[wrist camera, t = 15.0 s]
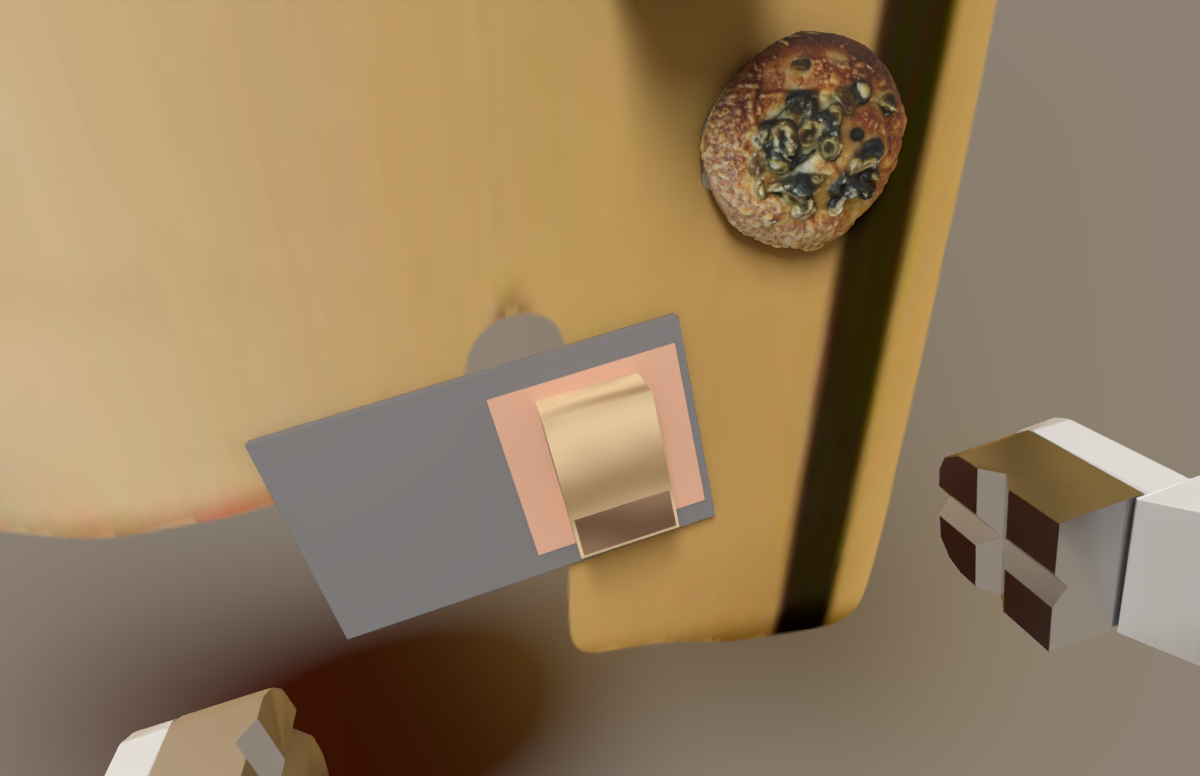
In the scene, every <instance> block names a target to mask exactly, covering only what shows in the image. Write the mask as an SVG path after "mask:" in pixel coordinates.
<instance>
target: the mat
mask: <svg viewBox="0 0 1200 776" xmlns="http://www.w3.org/2000/svg"><path fill="white" fill-rule="evenodd" d="M633 372H638V374H639V375H640V376H641V378H642V379H643V380H644V382H645V383H646V384H647V386H648V387H649V388H650V390H651V391H652V393H653V398H654V403H655V408H656V413H657V418H658V423H659V428H660V433H661V438H662V443H663V447H664V452H665V457H666V462H667V467H668V472H669V477H670V482H671V487H672V492H673V497H674V502H675V507H676V512H677V517H678V522H679V527H682V526H685V525H688V524H691V523H694V522H697V521H700V520H703V519H706V518H709V517H712V516H715V512H714V507H713V501H712V496H711V491H710V485H709V480H708V474H707V469H706V464H705V458H704V453H703V448H702V442H701V437H700V431H699V426H698V421H697V415H696V410H695V404H694V399H693V394H692V388H691V383H690V378H689V372H688V367H687V361H686V356H685V351H684V345H683V340H682V335H681V329H680V324H679V318H678V316H677V315H676V314H675V313H673V314H669V315H666V316H663V317H659V318H656V319H653V320H649V321H646V322H643V323H639V324H636V325H633V326H629V327H626V328H623V329H619V330H616V331H613V332H609V333H606V334H603V335H599V336H596V337H593V338H589V339H586V340H583V341H579V342H576V343H573V344H569V345H566V346H563V347H559V348H556V349H553V350H550V351H546V352H543V353H540V354H536V355H533V356H530V357H526V358H523V359H520V360H516V361H513V362H510V363H506V364H503V365H500V366H496V367H493V368H490V369H487V370H483V371H480V372H476V373H473V374H470V375H466V376H463V377H460V378H456V379H453V380H450V381H446V382H443V383H440V384H436V385H433V386H430V387H426V388H423V389H420V390H416V391H413V392H410V393H406V394H403V395H400V396H396V397H393V398H390V399H386V400H383V401H380V402H376V403H373V404H370V405H366V406H363V407H360V408H356V409H353V410H350V411H346V412H343V413H340V414H336V415H333V416H330V417H326V418H323V419H320V420H316V421H313V422H310V423H306V424H303V425H300V426H296V427H293V428H290V429H286V430H283V431H280V432H276V433H273V434H270V435H266V436H263V437H260V438H256V439H253V440H250V441H248V442H247V444H246V446H245V447H246V449H247V451H248V452H249V454H250V456H251V458H252V460H253V462H254V464H255V466H256V468H257V469H258V471H259V473H260V475H261V477H262V479H263V481H264V483H265V485H266V486H267V488H268V490H269V492H270V494H271V496H272V498H273V500H274V502H275V503H276V505H277V507H278V509H279V511H280V513H281V515H282V517H283V519H284V520H285V522H286V524H287V526H288V528H289V530H290V532H291V533H292V536H293V537H294V539H295V541H296V543H297V545H298V547H299V549H300V551H301V552H302V554H303V556H304V558H305V560H306V562H307V564H308V566H309V568H310V570H311V571H312V573H313V575H314V577H315V579H316V581H317V582H318V585H319V587H320V588H321V590H322V592H323V594H324V596H325V598H326V600H327V602H328V604H329V605H330V607H331V609H332V611H333V613H334V615H335V617H336V619H337V621H338V622H339V624H340V626H341V628H342V630H343V632H344V634H345V636H346V638H347V639H350V638H353V637H356V636H359V635H362V634H365V633H368V632H371V631H374V630H377V629H380V628H383V627H386V626H389V625H392V624H395V623H398V622H401V621H404V620H406V619H410V618H413V617H416V616H419V615H421V614H424V613H427V612H430V611H433V610H436V609H439V608H442V607H445V606H448V605H451V604H454V603H457V602H460V601H463V600H465V599H469V598H472V597H475V596H478V595H481V594H484V593H487V592H489V591H493V590H495V589H498V588H501V587H504V586H507V585H510V584H513V583H516V582H519V581H522V580H525V579H528V578H531V577H534V576H537V575H540V574H543V573H546V572H548V571H552V570H555V569H558V568H561V567H563V566H567V565H570V564H573V563H575V562H578V561H581V560H584V559H587V558H590V557H593V556H596V555H599V554H602V553H605V552H608V551H611V550H614V549H617V548H620V547H623V546H626V545H629V544H632V543H635V542H638V541H641V540H644V539H647V538H649V537H647V538H644V539H641V540H638V541H634V542H631V543H628V544H625V545H622V546H619V547H616V548H613V549H610V550H607V551H604V552H601V553H598V554H595V555H592V556H589V557H586V558H583V559H581V556H580V552H579V549H578V546H577V543H576V540H575V537H574V534H573V531H572V528H571V524H570V521H569V518H568V514H567V511H566V507H565V504H564V500H563V497H562V493H561V490H560V486H559V483H558V479H557V476H556V472H555V469H554V465H553V462H552V458H551V455H550V452H549V448H548V445H547V441H546V438H545V434H544V431H543V427H542V424H541V420H540V417H539V413H538V410H537V406H536V403H535V402H536V401H539V400H542V399H546V398H549V397H553V396H556V395H559V394H563V393H566V392H569V391H573V390H576V389H579V388H583V387H586V386H590V385H593V384H596V383H600V382H603V381H606V380H610V379H613V378H616V377H620V376H623V375H627V374H630V373H633ZM679 527H677V528H679ZM674 529H676V528H674ZM671 530H673V529H671ZM668 531H670V530H668ZM665 532H667V531H665ZM662 533H664V532H662ZM659 534H661V533H659ZM656 535H658V534H656ZM653 536H655V535H653ZM650 537H652V536H650Z"/></svg>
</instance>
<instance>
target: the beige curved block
mask: <svg viewBox="0 0 1200 776" xmlns="http://www.w3.org/2000/svg"><path fill="white" fill-rule="evenodd" d="M535 403H536V406H537V410H538V413H539V417H540V420H541V424H542V427H543V431H544V434H545V438H546V441H547V445H548V448H549V452H550V455H551V458H552V462H553V465H554V469H555V472H556V476H557V479H558V483H559V486H560V490H561V493H562V497H563V500H564V504H565V507H566V511H567V514H568V518H569V521H570V524H571V528H572V531H573V534H574V537H575V540H576V543H577V546H578V549H579V552H580V556H581V559H583V558H586V557H589V556H592V555H595V554H598V553H601V552H604V551H607V550H610V549H613V548H616V547H619V546H622V545H625V544H628V543H631V542H634V541H638V540H641V539H644V538H647V537H650V536H653V535H656V534H659V533H662V532H665V531H668V530H671V529H674V528H677V527H679V522H678V517H677V512H676V507H675V502H674V497H673V492H672V487H671V482H670V477H669V472H668V467H667V462H666V457H665V452H664V447H663V443H662V438H661V433H660V428H659V423H658V418H657V413H656V408H655V403H654V398H653V393H652V391H651V390H650V388H649V387H648V386H647V384H646V383H645V382H644V380H643V379H642V378H641V376H640V375H639V374H638V372H633V373H630V374H627V375H623V376H620V377H616V378H613V379H610V380H606V381H603V382H600V383H596V384H593V385H590V386H586V387H583V388H579V389H576V390H573V391H569V392H566V393H563V394H559V395H556V396H553V397H549V398H546V399H542V400H539V401H536V402H535Z"/></svg>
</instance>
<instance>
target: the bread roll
mask: <svg viewBox="0 0 1200 776" xmlns="http://www.w3.org/2000/svg"><path fill="white" fill-rule="evenodd" d="M906 122H907V118H906V115H905V111H904V106H903V105H902V104H901V99H900V95H899V93H898V90H897V88H896V85H895V82H894V81H893V78H892V76H891V74H890V72H889V70H888V69H887V67H886V66H885V65H884V64H883V63H882V62H881V61H880V60H879V59H878V57H877V56H876V55H875V54H874V53H873V52H872V51H871V50H870V49H868V48H867V47H866V46H865V45H863V44H861V43H859V42H857V41H854V40H852V39H849V38H847V37H845V36H841V35H837V34H833V33H823V32H816V31H800V32H796V33H795V34H793V35H791V36H788V37H785V38H782V39H780V40H778V41H776V42H775V43H774V44H772V45H771V46H769V47H767V48H766V49H765V50H764V51H763V52H761V53H760V54H758V55H756V56H755V57H754V58H753V59H752V60H751V61H749V62H748V63H747V65H746V66H745V67H744V68H743V69H742V70H741V71H740V72H739V73H738V74H737V75H736V76H735V77H733V79H732V81H731V82H730V83H729V84H728V86H727V87H726V88H725V89H724V91H723V92H722V93H721V95H720V97H719V98H718V100H717V101H716V102H715V105H714V106H713V107H712V109H710V113H709V114H708V118H706V123H704V127H703V129H702V134H701V139H702V140H701V144H700V145H699V150H700V152H701V160H703V161H702V165H703V168H702V172H703V173H702V180H703V182H702V183H703V186H704V187H706V189H707V190H708V189H710V190H711V194H712V196H713V197H714V198H715V200H716V202H717V204H718V205H719V207H720V209H721V210H722V211H723V213H724V215H725V216H726V218H727V220H728V221H729V223H730V224H731V225H732V226H734V227H735V228H737V229H738V230H739V231H740V232H742V233H743V235H747V236H751V237H753V238H754V239H755V240H759V241H760V242H762V243H763V244H765V245H769V244H770V245H772V246H773V247H776V248H780V247H783V248H789V247H791V248H793V249H797V248H799V249H801V250H803V251H813V250H817V249H820V248H822V247H823V246H824V245H825V244H826V243H828V242H830V241H832V240H835V239H836V238H838V237H840V236H841V235H842V234H845V233H846V232H847V231H848V229H849V228H850V227H851V226H852V225H853V224H854V223H855V220H856V219H857V218H858V217H859V216H861V215H862V214H863V213H864V212H865V211H866V210H867V209H868V208H869V207H870V206H871V205H872V204H873V202H874V201H875V200H876V199H877V197H878V196H879V195H880V194H881V193H882V191H883V187H884V185H885V184H886V183H887V181H888V178H889V176H890V174H891V172H892V171H893V170H894V169H895V167H896V164H897V162H898V160H897V157H898V154H899V151H900V148H901V144H902V136H903V134H904V130H905V127H906Z"/></svg>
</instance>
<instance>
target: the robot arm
mask: <svg viewBox="0 0 1200 776" xmlns="http://www.w3.org/2000/svg"><path fill="white" fill-rule="evenodd" d="M939 470H940V471H939V486H940V487H941V488H942V489H943V490H944V491H945V492H946V493H947V494H948V495H949V496H950V499H949V500H948V502H947V503H946V505H945V507H944V509H943V510H942V512H941V514H940V530H941V538H942V541H943V543H944V546H945V548H946V550H947V553H948V555H949V558H950V559H951V560H952V562H953V563H954V564H955V566H956V567H957V568H958V570H959V571H960V572H961V573H962V574H963V575H964V576H965V577H966V578H967V579H968V580H969V581H970V582H971V583H972V584H973V585H975V586H976V587H979V588H982V589H985V590H988V591H991V592H994V593H997V594H1000V595H1001V599H1002V606H1003V612H1004V613H1006V614H1007V615H1008V616H1009V617H1010V618H1011V619H1012V620H1013V621H1015V622H1016V623H1017V624H1018V625H1019V626H1020V627H1021V628H1022V629H1024V630H1025V631H1026V632H1027V633H1028V634H1029V635H1030V636H1031V637H1033V638H1034V639H1035V640H1036V641H1037V642H1038V643H1039V644H1040V645H1042V646H1043V647H1044V648H1045V649H1046V650H1047V651H1048V652H1050V651H1053V650H1056V649H1059V648H1062V647H1065V646H1067V645H1070V644H1073V643H1076V642H1079V641H1081V640H1085V639H1088V638H1090V637H1093V636H1096V635H1099V634H1102V633H1104V632H1107V631H1110V630H1113V629H1116V628H1118V631H1117V632H1118V633H1120V634H1123V635H1125V636H1128V637H1130V638H1133V639H1135V640H1137V641H1140V642H1142V643H1145V644H1147V645H1150V646H1152V647H1155V648H1157V649H1160V650H1162V651H1165V652H1167V653H1169V654H1172V655H1174V656H1177V657H1179V658H1182V659H1184V660H1186V661H1189V662H1191V663H1194V664H1196V665H1199V666H1200V476H1198V477H1195V478H1192V479H1188V478H1186V477H1184V476H1182V475H1180V474H1178V473H1176V472H1174V471H1172V470H1170V469H1168V468H1166V467H1164V466H1162V465H1160V464H1158V463H1156V462H1154V461H1152V460H1150V459H1148V458H1146V457H1144V456H1142V455H1140V454H1138V453H1136V452H1134V451H1132V450H1130V449H1128V448H1126V447H1124V446H1122V445H1120V444H1118V443H1116V442H1114V441H1112V440H1110V439H1108V438H1106V437H1104V436H1102V435H1100V434H1098V433H1096V432H1094V431H1092V430H1090V429H1088V428H1086V427H1084V426H1082V425H1080V424H1078V423H1076V422H1074V421H1072V420H1070V419H1062V418H1052V419H1049V420H1047V421H1044V422H1041V423H1038V424H1036V425H1033V426H1030V427H1028V428H1025V429H1022V430H1019V431H1018V432H1017V433H1014V434H1011V435H1008V436H1005V437H1002V438H999V439H996V440H994V441H991V442H988V443H985V444H982V445H979V446H976V447H974V448H971V449H968V450H965V451H962V452H959V453H956V454H954V455H951V456H948V457H945V458H944V460H943V462H942V464H941V467H940V469H939ZM295 712H296V709H295V707H294V706H293V704H292V703H291V701H290V700H289V698H288V697H287V695H286V694H285V692H284V691H283V690H282V689H276V688H269V689H266V690H263V691H260V692H257V693H254V694H250V695H247V696H244V697H241V698H238V699H234V700H231V701H228V702H225V703H222V704H219V705H216V706H213V707H209V708H206V709H203V710H200V711H197V712H194V713H190V714H188V715H184V716H182V717H180V718H179V719H175V720H171V721H168V722H165V723H162V724H159V725H156V726H152V727H150V728H146V729H143V730H140V731H137V732H134V733H133V734H131V735H130V736H129V737H128V738H127V739H125V740H124V741H123V742H122V743H121V744H120V745H119V747H118V749H117V751H116V753H115V755H114V757H113V759H112V761H111V763H110V765H109V767H108V769H107V772H106V774H105V776H328V770H327V767H326V764H325V761H324V758H323V755H322V752H321V750H320V748H319V746H318V745H317V743H316V741H315V739H314V738H313V736H311V735H308V734H306V733H303V732H301V731H298V730H296V729H293V728H292V726H293V721H294V716H295Z"/></svg>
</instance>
